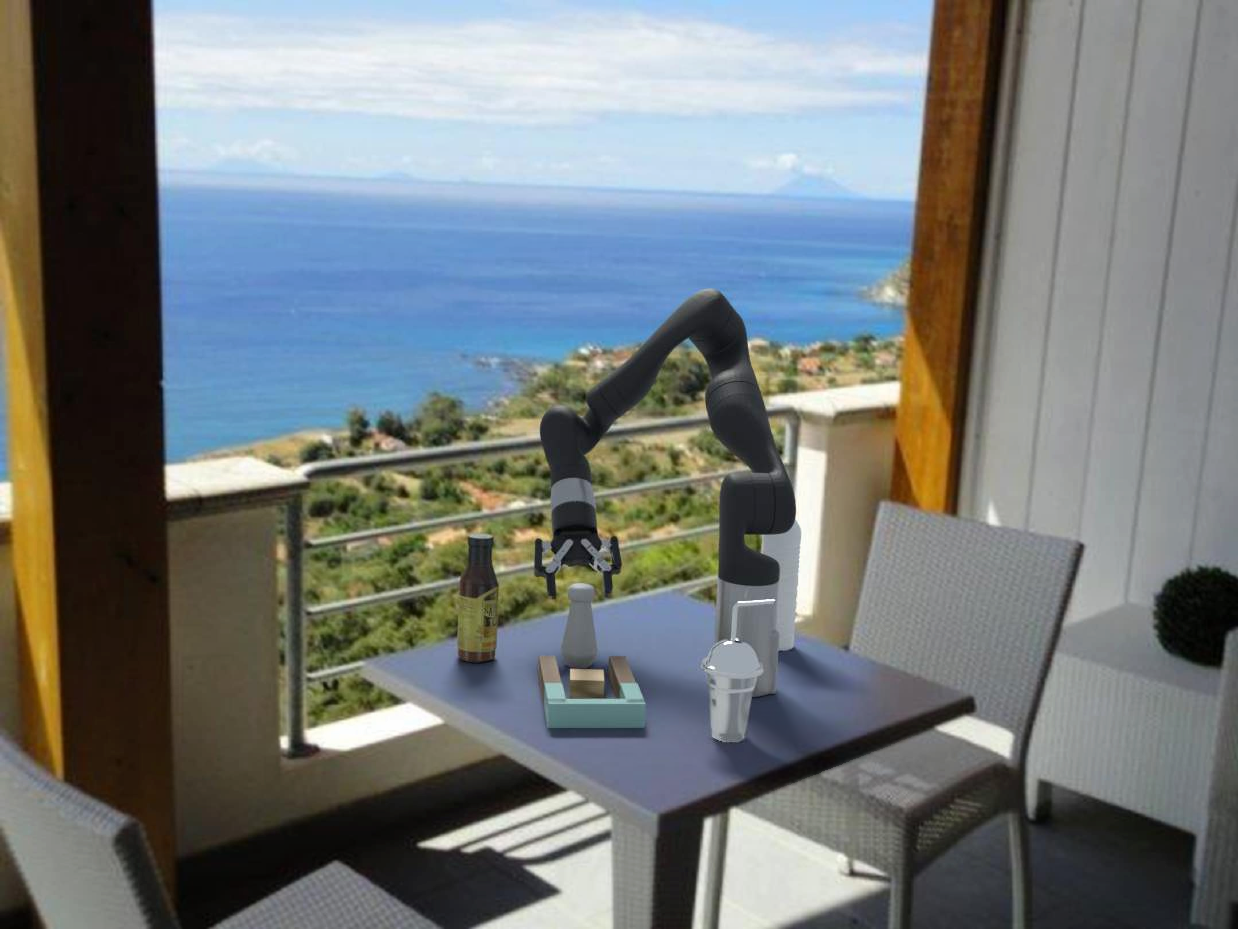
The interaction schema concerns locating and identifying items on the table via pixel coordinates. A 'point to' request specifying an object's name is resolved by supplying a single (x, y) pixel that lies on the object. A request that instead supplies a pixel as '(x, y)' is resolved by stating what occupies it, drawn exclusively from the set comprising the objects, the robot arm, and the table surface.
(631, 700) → the teal u-shaped block
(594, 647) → the salt shaker
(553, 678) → the slot
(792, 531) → the water bottle
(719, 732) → the cup with straw
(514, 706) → the table surface
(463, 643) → the sauce bottle
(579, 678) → the block
